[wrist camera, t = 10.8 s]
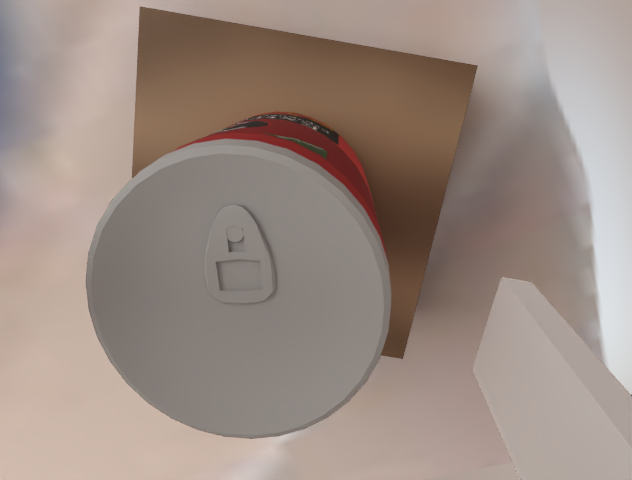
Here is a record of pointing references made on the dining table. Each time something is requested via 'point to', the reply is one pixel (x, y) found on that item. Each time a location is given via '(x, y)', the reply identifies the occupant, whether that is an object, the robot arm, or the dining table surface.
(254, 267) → the canned food
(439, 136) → the walnut pedestal
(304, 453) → the dining table surface
